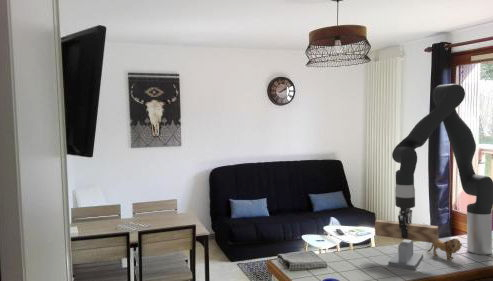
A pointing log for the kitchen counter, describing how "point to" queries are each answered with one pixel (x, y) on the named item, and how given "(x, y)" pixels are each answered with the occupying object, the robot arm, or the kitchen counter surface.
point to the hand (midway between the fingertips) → (405, 236)
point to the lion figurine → (447, 247)
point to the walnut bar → (413, 232)
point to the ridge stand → (406, 256)
